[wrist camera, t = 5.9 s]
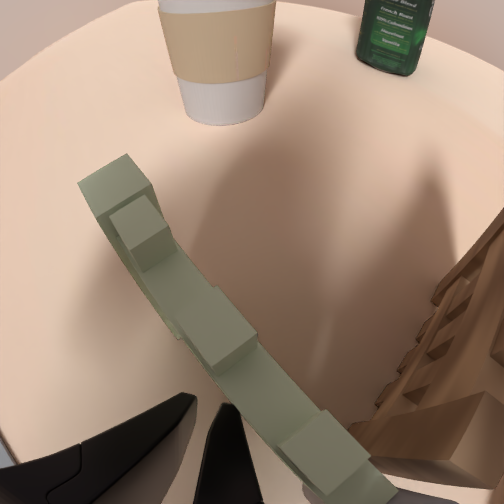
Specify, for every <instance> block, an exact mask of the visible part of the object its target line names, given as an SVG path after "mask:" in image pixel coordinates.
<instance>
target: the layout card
mask: <svg viewBox="0 0 504 504" xmlns="http://www.w3.org/2000/svg"><path fill="white" fill-rule="evenodd" d="M13 465H17V464H16V462H15V461H14V459H13V457H12V456H11V454H10V452H9V451H8V449H7V447H6V446H5V444H4V442H3V440H2V439H1V437H0V468H4V467H8V466H13Z"/></svg>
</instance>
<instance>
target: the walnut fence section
mask: <svg viewBox="0 0 504 504" xmlns="http://www.w3.org/2000/svg"><path fill="white" fill-rule="evenodd" d="M431 302H433V303H434V304H435V305H437V306H438V307H439V308H438V310H437V312H436V313H435V314H434V315H433V316H432V317H431V318H430V319H428V320H427V321H426V322H425V323H424V325H423V327H422V329H421V330H420V332H419V334H418V336H417V337H416V340H417V341H419V342H420V343H419V345H418V346H416V347H415V348H414V349H412V350H411V351H409V352H408V353H407V355H406V356H405V358H404V359H403V361H402V363H401V364H400V366H399V368H398V369H397V371H398V372H399V373H401V375H400V377H399V379H398V380H396V381H394V382H392V383H390V384H388V385H387V386H386V388H385V389H384V391H383V392H382V394H381V395H380V397H379V398H378V399H377V401H376V402H375V405H377V406H378V407H379V409H378V410H377V412H376V413H375V414H374V416H373V417H372V419H371V420H370V421H365V422H359V423H353V424H352V425H351V427H350V428H349V429H348V430H347V431H348V432H349V433H350V434H351V436H352V437H353V438H354V439H355V440H356V441H357V442H358V443H359V444H360V445H361V446H362V447H363V448H364V449H365V450H366V451H367V452H368V453H369V454H370V455H371V457H369V458H368V461H369V462H370V463H371V464H372V465H373V466H374V467H375V468H376V469H378V470H379V471H380V472H381V473H383V474H388V475H392V476H397V477H402V478H407V479H412V480H418V481H424V482H430V483H436V484H443V485H451V486H459V487H469V488H480V489H495V488H496V486H497V485H498V483H499V481H500V479H501V477H502V475H503V473H504V208H503V209H502V210H501V212H500V213H499V214H498V216H497V217H496V218H495V219H494V221H493V222H492V223H491V224H490V226H489V227H488V228H487V229H486V231H485V232H484V233H483V234H482V235H481V237H480V238H479V239H478V240H477V241H476V243H475V244H474V245H473V246H472V247H471V248H470V250H469V251H468V252H467V253H466V254H465V255H464V257H463V258H462V259H461V260H460V261H459V262H458V263H457V264H456V265H455V267H454V268H453V269H452V270H451V271H450V272H449V273H448V274H447V275H446V276H445V277H444V278H443V279H442V281H441V282H440V284H439V286H438V288H437V290H436V292H435V294H434V296H433V298H432V299H431Z"/></svg>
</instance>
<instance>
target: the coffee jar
mask: <svg viewBox="0 0 504 504" xmlns="http://www.w3.org/2000/svg"><path fill="white" fill-rule="evenodd" d="M434 1H435V0H365V5H364V11H363V17H362V23H361V28H360V33H359V39H358V44H357V50H356V54H357V56H358V58H359V59H360V60H363V61H364V62H366V63H368V64H370V65H372V66H373V67H374V68H376V69H379V70H381V71H384V72H388V73H397V74H402V75H406V76H408V75H411V74H412V73H413V72H414V71H415V69H416V67H417V64H418V61H419V58H420V54H421V51H422V47H423V44H424V40H425V36H426V33H427V29H428V25H429V22H430V18H431V14H432V10H433V6H434Z"/></svg>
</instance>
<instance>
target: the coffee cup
mask: <svg viewBox="0 0 504 504" xmlns="http://www.w3.org/2000/svg"><path fill="white" fill-rule="evenodd" d="M158 3H159V7H158V13H159V17H160V21H161V25H162V29H163V33H164V37H165V41H166V45H167V49H168V53H169V56H170V60H171V64H172V68H173V72H174V74H175V75H176V76H177V80H178V84H179V88H180V92H181V96H182V99H183V103H184V107H185V111H186V114H187V115H188V116H189V117H190V118H191V119H192V120H194V121H196V122H199V123H202V124H207V125H232V124H237V123H241V122H244V121H247V120H249V119H251V118H253V117H255V116H256V115H258V114H259V113H260V112H261V110H262V109H263V105H264V96H265V86H266V76H267V68H268V67H269V64H270V55H271V45H272V36H273V26H274V17H275V7H276V0H158Z"/></svg>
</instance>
